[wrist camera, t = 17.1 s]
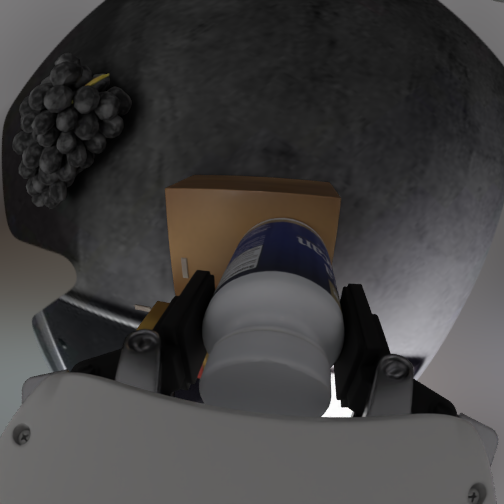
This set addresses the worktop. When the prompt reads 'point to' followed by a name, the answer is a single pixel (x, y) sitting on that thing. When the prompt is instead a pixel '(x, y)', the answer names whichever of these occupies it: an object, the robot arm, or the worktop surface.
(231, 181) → the brown flat block
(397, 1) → the worktop surface
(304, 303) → the pill bottle
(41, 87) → the fruit
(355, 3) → the worktop surface
